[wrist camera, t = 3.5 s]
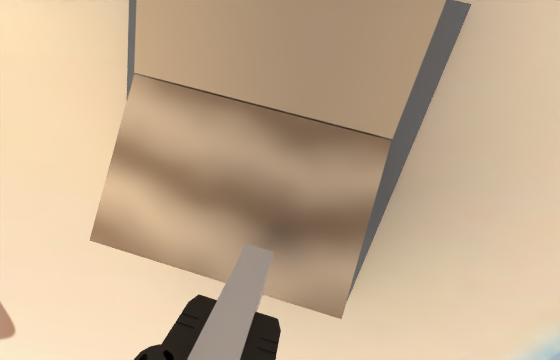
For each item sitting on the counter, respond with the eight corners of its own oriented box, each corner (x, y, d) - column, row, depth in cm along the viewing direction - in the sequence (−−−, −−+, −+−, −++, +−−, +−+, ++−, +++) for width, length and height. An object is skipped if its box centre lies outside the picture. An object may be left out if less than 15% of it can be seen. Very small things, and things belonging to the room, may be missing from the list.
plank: (150, 84, 21) (134, 74, 19) (382, 144, 19) (391, 140, 17) (109, 234, 21) (89, 240, 19) (337, 304, 19) (341, 318, 17)
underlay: (140, -62, 18) (107, -88, 16) (463, 8, 17) (490, -7, 14) (130, 231, 27) (107, 247, 24) (344, 296, 25) (346, 322, 22)
